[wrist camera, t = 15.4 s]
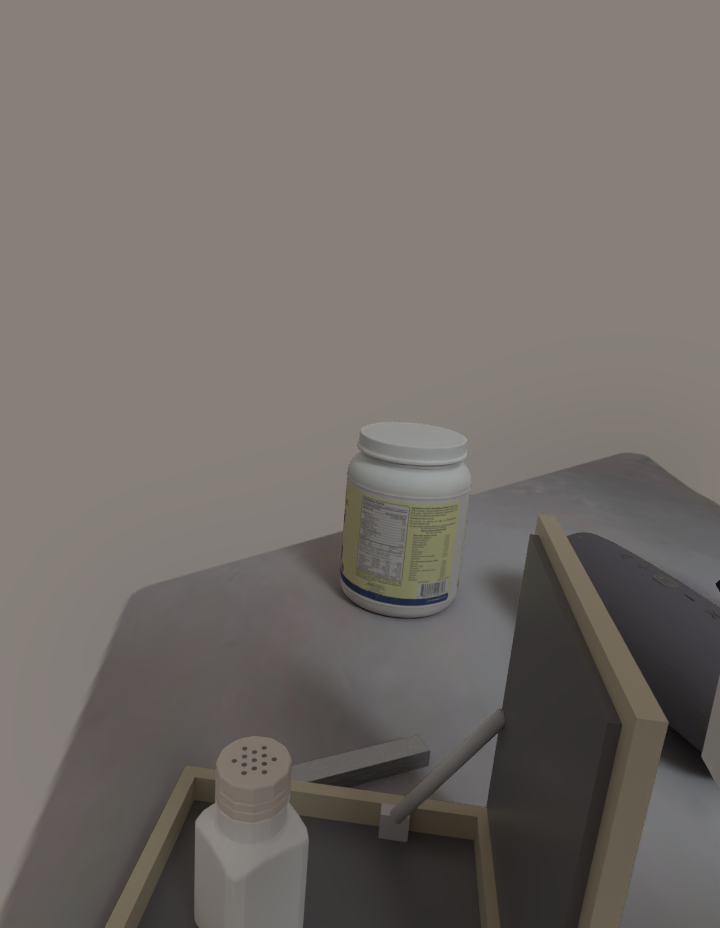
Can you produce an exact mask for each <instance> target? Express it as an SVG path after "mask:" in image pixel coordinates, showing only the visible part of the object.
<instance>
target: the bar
mask: <svg viewBox="0 0 720 928" xmlns="http://www.w3.org/2000/svg"><path fill="white" fill-rule="evenodd" d="M429 757H430V749H429V748H428V747H427V745H426V744H425V743H424V741H423V740H422V739H421V737H420V736H419V735H415V736H411V737H407V738H403V739H399V740H395V741H391V742H387V743H383V744H378V745H374V746H370V747H366V748H362V749H358V750H354V751H350V752H346V753H342V754H338V755H333V756H329V757H325V758H321V759H317V760H313V761H309V762H305V763H301V764H297V765H292V771H291V780H296V781H303V782H310V783H317V784H324V785H332V786H339V787H346V788H348V787H352V786H356V785H359V784H363V783H367V782H370V781H374V780H378V779H381V778H385V777H389V776H393V775H396V774H400V773H404V772H407V771H411V770H415V769H418V768H422V767H426V766H428V764H429Z"/></svg>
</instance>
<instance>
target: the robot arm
mask: <svg viewBox="0 0 720 928" xmlns="http://www.w3.org/2000/svg"><path fill="white" fill-rule="evenodd" d="M701 757H702V759H703V761H704V762H705V764H706V766H707V768H708V770H709V771H710V773H711V775H712V777H713V779H714V781H715V782H716V784H717V786H718V788H719V790H720V676H719V681H718V685H717V689H716V694H715V698H714V703H713V707H712V711H711V716H710V720H709V725H708V729H707V733H706V738H705V742H704V747H703V751H702V756H701Z"/></svg>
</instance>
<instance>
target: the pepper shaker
mask: <svg viewBox="0 0 720 928" xmlns="http://www.w3.org/2000/svg"><path fill="white" fill-rule="evenodd" d="M291 771H292V759H291V757H290V754H289V752H288V750H287V748H286V746H284V745H283V744H281V743H279V742H278V741H276V740H275V739H273V738H268V737H261V736H250V737H246V738H241V739H236V740H235V741H233V742H232V743H231V744H229V745H228V746H226V747H225V748H223V749H222V751H221V753H220V755H219V757H218V760H217V762H216V775H215V776H216V779H215V785H216V787H215V802H216V803H214V804H213V805H211V806H210V807H208V808H207V809H205V810H204V811H203V812H202V813H201V814H200V815H199V817H198V818H197V819H196V821H195V882H194V918H195V922H196V924H197V926H198V927H199V928H303V919H304V904H305V890H306V875H307V861H308V846H309V838H308V832H307V828H306V826H305V824H304V823H303V821H302V820H301V818H300V817H299V815H298V813H297V812H296V811H295V810H294V808H293V807H292V806H291V804H290V803H289V800H290V788H291Z"/></svg>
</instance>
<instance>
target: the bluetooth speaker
mask: <svg viewBox="0 0 720 928" xmlns="http://www.w3.org/2000/svg"><path fill="white" fill-rule="evenodd" d="M567 538H568V540H569V542H570V544H571V546H572V547H573V549H574V551H575V553H576V555H577V557H578V558H579V560H580V562H581V564H582V566H583V567H584V569H585V571H586V573H587V575H588V577H589V578H590V580H591V582H592V584H593V586H594V587H595V589H596V591H597V593H598V595H599V597H600V598H601V600H602V602H603V604H604V606H605V607H606V609H607V611H608V613H609V615H610V617H611V618H612V620H613V622H614V624H615V626H616V627H617V629H618V631H619V633H620V635H621V637H622V638H623V640H624V642H625V644H626V646H627V647H628V649H629V651H630V653H631V655H632V657H633V658H634V660H635V662H636V664H637V666H638V668H639V669H640V671H641V673H642V675H643V677H644V678H645V680H646V682H647V684H648V686H649V688H650V689H651V691H652V693H653V695H654V697H655V698H656V700H657V702H658V704H659V706H660V708H661V709H662V711H663V713H664V715H665V717H666V718H667V720H668V722H669V723H668V727H667V729H669V730H671V731H675V732H678V733H679V734H680V735H682V736H683V737H684V738H685V739H686V740H687V741H689V742H690V743H691V744H692V745H693V746H694V747H695V748H697V749H698V750H699V751H700V752H702V751H703V747H704V742H705V738H706V733H707V729H708V725H709V720H710V716H711V711H712V707H713V703H714V698H715V694H716V689H717V685H718V681H719V676H720V608H719V607H717V606H716V605H715V604H713V603H712V602H710V601H709V600H707V599H706V598H704V597H703V596H701V595H700V594H698V593H697V592H695V591H693V590H692V589H690V588H689V587H687V586H686V585H684V584H683V583H681V582H680V581H678V580H676V579H675V578H673V577H671V576H670V575H668V574H667V573H665V572H663V571H662V570H660V569H658V568H657V567H655V566H653V565H652V564H650V563H649V562H647V561H645V560H643V559H642V558H640V557H638V556H636V555H635V554H633V553H631V552H629V551H628V550H626V549H624V548H622V547H621V546H619V545H617V544H615V543H613V542H611V541H609V540H607V539H604V538H602V537H600V536H598V535H595V534H592V533H576V534H572V535H569V536H567Z"/></svg>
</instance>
